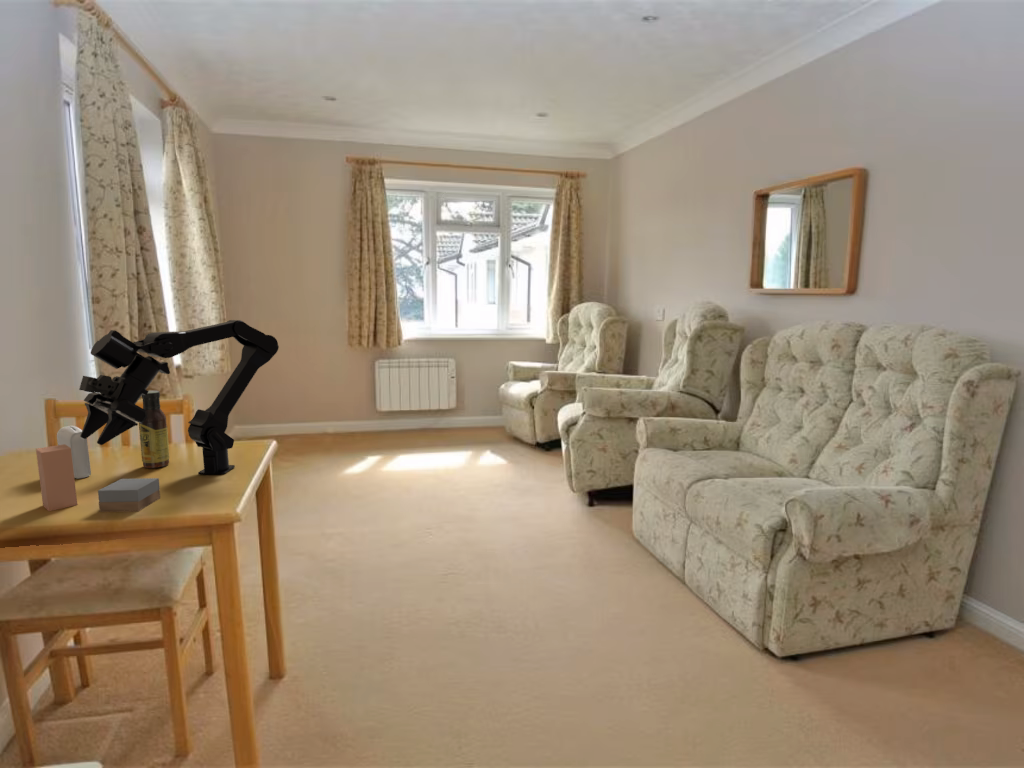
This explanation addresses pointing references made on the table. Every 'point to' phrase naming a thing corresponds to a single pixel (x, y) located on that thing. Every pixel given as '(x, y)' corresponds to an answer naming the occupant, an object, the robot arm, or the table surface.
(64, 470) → the terracotta pillar
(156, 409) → the sauce bottle
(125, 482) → the slate slab
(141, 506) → the walnut slab
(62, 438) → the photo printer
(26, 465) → the table surface
